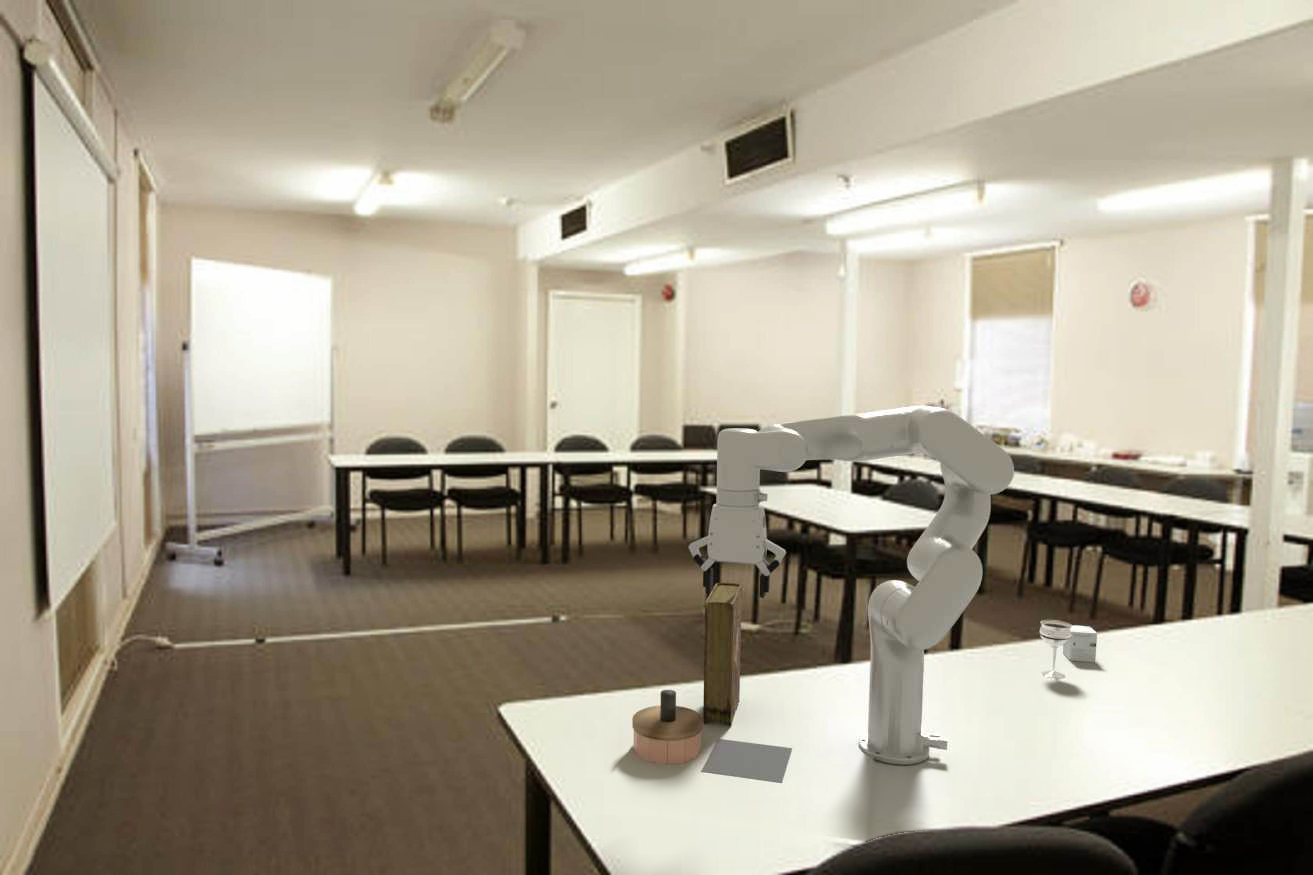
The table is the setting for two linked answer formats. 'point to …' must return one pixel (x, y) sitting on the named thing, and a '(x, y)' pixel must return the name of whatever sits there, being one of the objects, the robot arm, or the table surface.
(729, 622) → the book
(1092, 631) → the skincare box
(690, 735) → the lid
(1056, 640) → the wineglass
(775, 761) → the mat
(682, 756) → the bowl
